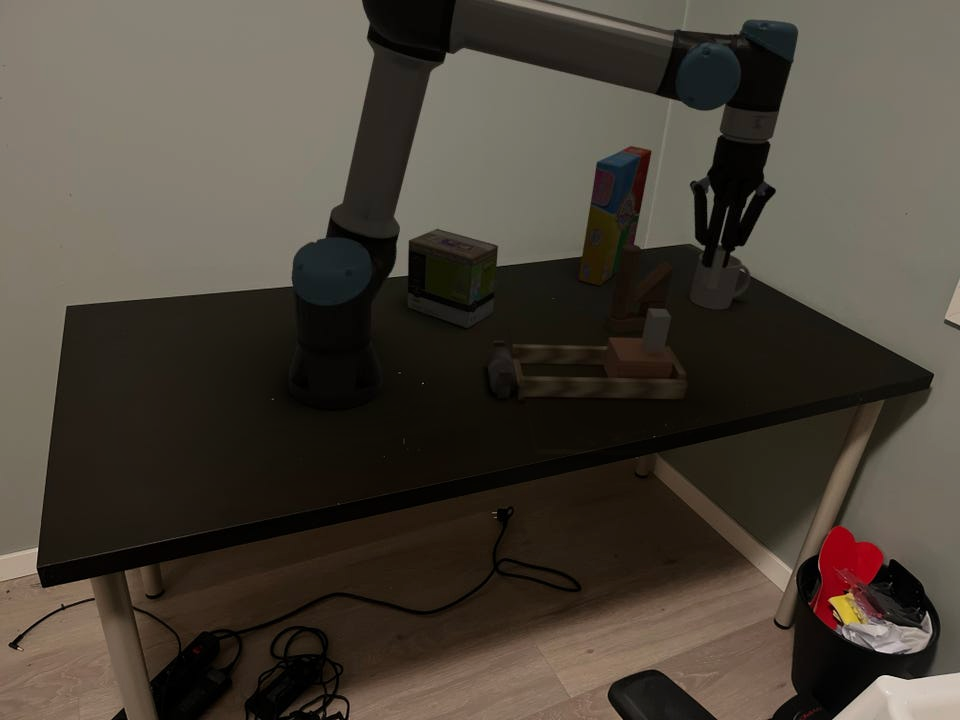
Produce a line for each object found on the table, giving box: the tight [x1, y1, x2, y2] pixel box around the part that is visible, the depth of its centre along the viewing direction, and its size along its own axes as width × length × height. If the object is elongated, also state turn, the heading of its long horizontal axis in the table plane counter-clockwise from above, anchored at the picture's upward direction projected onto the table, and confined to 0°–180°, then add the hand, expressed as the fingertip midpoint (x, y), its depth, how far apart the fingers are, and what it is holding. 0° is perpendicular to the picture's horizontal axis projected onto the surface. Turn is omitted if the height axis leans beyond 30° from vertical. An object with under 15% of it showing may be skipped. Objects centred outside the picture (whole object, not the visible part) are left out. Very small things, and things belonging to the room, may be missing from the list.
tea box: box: [407, 228, 499, 329], centre depth 141 cm, size 15×10×15 cm, turn 58°
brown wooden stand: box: [603, 244, 674, 334], centre depth 138 cm, size 4×11×18 cm, turn 107°
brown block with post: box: [603, 308, 673, 379], centre depth 121 cm, size 9×9×13 cm
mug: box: [689, 252, 751, 311], centre depth 155 cm, size 11×10×10 cm
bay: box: [485, 339, 688, 402], centre depth 122 cm, size 33×12×5 cm, turn 95°
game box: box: [578, 145, 653, 286], centre depth 162 cm, size 21×6×27 cm, turn 149°
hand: (709, 285), depth 116 cm, fingers closed
